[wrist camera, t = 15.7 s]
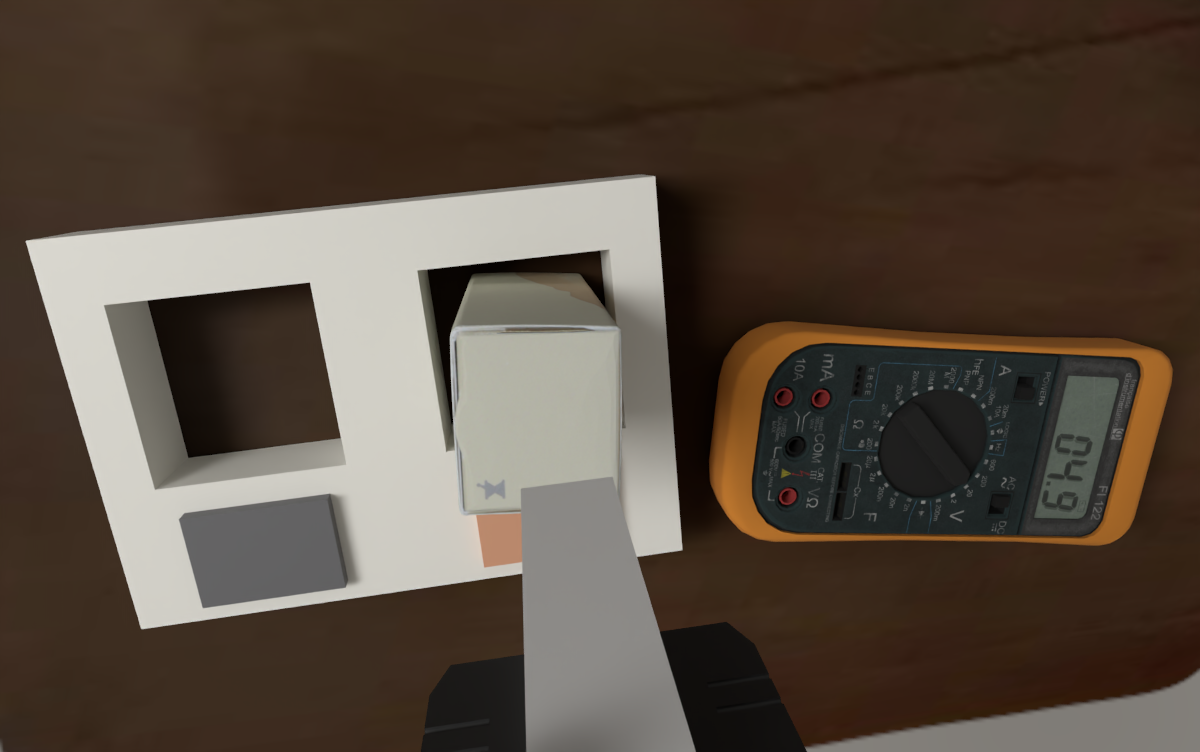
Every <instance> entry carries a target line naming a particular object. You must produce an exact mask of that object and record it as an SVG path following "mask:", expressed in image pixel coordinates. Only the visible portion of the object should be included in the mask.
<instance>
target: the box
mask: <svg viewBox="0 0 1200 752" xmlns="http://www.w3.org/2000/svg"><path fill="white" fill-rule="evenodd" d="M450 360H451V388H452V408H453V428H454V445H455V459H456V473H457V486H458V505H459V511H460V512H461V514H462V515H466V516H468V515H489V514H519V513H521V488H529V487H537V486H544V485H552V484H560V483H567V482H575V481H582V480H590V479H598V478H605V477H613V481H614V484H615V487H616V490H617V494H618V497H619V498H620V480H621V457H622V333H621V329H620V327H619V326H618V325H617V324H616V322H615V321H614V320H613V319H612V317H611V316H610V314H609V313H608V311H607V310H606V309H605V307H604V306H603V305H602V303H601V302H600V301H599V299H598V298H597V296H596V295H595V294H594V292H593V291H592V289H591V288H590V287H589V286H588V284H587V283H586V282H585V280H584V279H583V277H582V276H581V275H580V274H577V273H539V272H510V273H476V274H473V275H472V276H471V279H470V281H469V284H468V287H467V289H466V291H465V294H464V297H463V300H462V303H461V305H460V308H459V311H458V313H457V316H456V319H455V322H454V324H453V327H452V330H451V334H450Z"/></svg>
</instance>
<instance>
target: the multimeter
mask: <svg viewBox="0 0 1200 752" xmlns="http://www.w3.org/2000/svg"><path fill="white" fill-rule="evenodd" d="M1172 375H1173V368H1172V365H1171V362H1170V359H1169V358H1168V357H1167V356H1166V355H1165V354H1164V353H1163V352H1162V351H1160V350H1157V349H1153V348H1150V347H1147V346H1143V345H1140V344H1136V343H1133V342H1130V341H1126V340H1123V339H1119V338H1072V337H1018V336H997V335H977V334H956V333H935V332H916V331H903V330H891V329H878V328H866V327H854V326H841V325H829V324H816V323H804V322H792V321H784V322H774V323H766V324H764V325H762V326H759V327H757V328H755V329H753V330H750V331H749V332H747V333H746V334H745V335H744V336H743V337H742V338H740V339H739V340H738V341H737V342H736V343H734V345H733V346H732V348H731V350H730V351H729V353H728V354H727V356H726V357H725V359H724V361H723V365H722V368H721V372H720V375H719V380H718V389H717V397H716V406H715V414H714V423H713V431H712V440H711V448H710V456H709V472H710V483H711V486H712V488H713V491H714V493H715V496H716V498H717V500H718V502H719V503H720V505H721V507H722V508H723V510H724V511H725V513H726V515H727V516H728V518H729V519H730V520H731V521H732V522H733V523H734V524H735V525H736V526H737V527H738V529H739V530H740V531H742V532H744V533H746V534H748V535H750V536H752V537H754V538H755V539H760V540H766V541H772V542H809V541H879V540H924V541H1000V542H1031V543H1050V544H1070V545H1089V546H1100V545H1105V544H1110V543H1112V542H1113V541H1115V540H1117V539H1119V538H1121V537H1122V536H1123V535H1124V534H1125V533H1126V531H1127V530H1128V529H1129V528H1130V526H1131V524H1132V522H1133V520H1134V517H1135V514H1136V510H1137V507H1138V503H1139V499H1140V496H1141V492H1142V488H1143V485H1144V481H1145V478H1146V474H1147V470H1148V467H1149V463H1150V460H1151V456H1152V452H1153V449H1154V445H1155V441H1156V438H1157V434H1158V431H1159V427H1160V423H1161V420H1162V416H1163V412H1164V409H1165V405H1166V402H1167V398H1168V394H1169V391H1170V387H1171V383H1172Z"/></svg>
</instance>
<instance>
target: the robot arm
mask: <svg viewBox="0 0 1200 752" xmlns="http://www.w3.org/2000/svg"><path fill="white" fill-rule="evenodd" d="M521 527H522V573H523V620H524V655H518V656H511V657H504V658H497V659H490V660H484V661H477V662H470V663H463V664H456V665H451V666H450V667H449V668H448V670H447V671H446V673H445V674H444V676H443V677H442V678H441V680H440V681H439V683H438V684H437V686H436V687H435V689H434V690H433V691H432V693H431V694H430V696H429V703H428V709H427V716H426V722H425V735H423V742H422V748H421V752H807V751H806V749H805V747H804V745H803V743H802V741H801V739H800V737H799V735H798V733H797V731H796V729H795V726H794V724H793V722H792V720H791V718H790V716H789V714H788V712H787V710H786V708H785V706H784V704H782V703H781V699H780V696H779V694H778V692H777V690H776V688H775V686H774V683H773V681H772V679H769V674H768V671H767V669H766V667H765V665H764V663H763V661H762V659H761V657H760V655H759V653H758V651H757V649H756V647H755V645H754V643H752V642H751V641H750V640H748V639H747V638H746V637H745V636H743V635H742V634H741V633H740V632H738V631H737V630H736V629H735V628H733V627H732V626H731V625H730V624H728V623H727V622H723V623H717V624H710V625H703V626H696V627H689V628H682V629H676V630H669V631H662V632H659V629H658V625H657V622H656V619H655V616H654V612H653V609H652V606H651V602H650V599H649V596H648V592H647V589H646V586H645V583H644V579H643V576H642V573H641V569H640V566H639V563H638V560H637V556H636V553H635V550H634V546H633V543H632V540H631V537H630V533H629V530H628V527H627V523H626V520H625V517H624V513H623V510H622V507H621V504H620V500H619V497H618V494H617V490H616V487H615V484H614V481H613V477H605V478H598V479H590V480H582V481H575V482H567V483H560V484H552V485H544V486H537V487H529V488H521Z"/></svg>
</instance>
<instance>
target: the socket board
mask: <svg viewBox="0 0 1200 752" xmlns="http://www.w3.org/2000/svg"><path fill="white" fill-rule="evenodd" d="M26 244H27V247H28V250H29V254H30V257H31V261H32V264H33V267H34V271H35V274H36V277H37V281H38V284H39V287H40V291H41V294H42V297H43V301H44V304H45V307H46V311H47V314H48V318H49V321H50V324H51V328H52V331H53V334H54V338H55V341H56V344H57V348H58V351H59V354H60V358H61V361H62V365H63V368H64V371H65V375H66V378H67V381H68V385H69V388H70V391H71V395H72V398H73V401H74V405H75V408H76V411H77V415H78V418H79V422H80V425H81V428H82V432H83V435H84V438H85V442H86V445H87V448H88V452H89V455H90V458H91V462H92V465H93V468H94V472H95V475H96V479H97V482H98V485H99V489H100V492H101V495H102V499H103V502H104V505H105V509H106V512H107V515H108V519H109V522H110V525H111V529H112V532H113V536H114V539H115V542H116V546H117V549H118V552H119V556H120V559H121V562H122V566H123V569H124V572H125V576H126V579H127V583H128V586H129V589H130V593H131V596H132V599H133V603H134V606H135V609H136V613H137V616H138V619H139V623H140V626H141V629H146V628H153V627H160V626H167V625H173V624H180V623H187V622H194V621H201V620H208V619H214V618H221V617H228V616H235V615H242V614H249V613H255V612H262V611H269V610H276V609H283V608H290V607H296V606H303V605H310V604H317V603H324V602H331V601H338V600H344V599H351V598H358V597H365V596H372V595H379V594H385V593H392V592H399V591H406V590H413V589H420V588H426V587H433V586H440V585H447V584H454V583H461V582H467V581H474V580H481V579H488V578H495V577H502V576H509V575H515V574H522V527H521V513H519V514H489V515H468V516H466V515H462V514H461V512H460V511H459V505H458V486H457V473H456V459H455V445H454V428H453V424H451V418H450V411H449V405H448V399H447V392H446V386H445V380H444V373H443V367H442V360H441V354H440V348H439V341H438V335H437V329H436V322H435V316H434V309H433V303H432V297H431V290H430V284H429V278H428V271H427V269H436V268H445V267H454V266H463V265H472V264H481V263H490V262H499V261H508V260H517V259H526V258H535V257H545V256H554V255H563V254H572V253H581V252H590V251H599V250H600V253H601V264H602V274H603V285H604V296H605V306H606V310H607V311H608V313H609V314H610V316H611V317H612V319H613V320H614V321H615V322H616V324H617V325H618V326H619V327H620V329H621V333H622V457H621V480H620V498H619V500H620V504H621V507H622V510H623V513H624V517H625V520H626V523H627V527H628V530H629V533H630V537H631V540H632V543H633V546H634V550H635V553H636V556H637V557H638V556H645V555H652V554H659V553H666V552H673V551H680V550H682V538H681V524H680V511H679V497H678V483H677V469H676V455H675V442H674V428H673V414H672V400H671V387H670V373H669V359H668V345H667V332H666V318H665V304H664V290H663V277H662V263H661V249H660V235H659V221H658V208H657V194H656V180H655V176H649V175H641V174H639V175H629V176H620V177H610V178H600V179H590V180H580V181H571V182H561V183H551V184H541V185H532V186H522V187H512V188H502V189H492V190H483V191H473V192H463V193H453V194H444V195H434V196H424V197H414V198H404V199H395V200H385V201H375V202H365V203H356V204H346V205H336V206H326V207H316V208H307V209H297V210H287V211H277V212H268V213H258V214H248V215H238V216H228V217H219V218H209V219H199V220H189V221H180V222H170V223H160V224H150V225H140V226H131V227H121V228H111V229H101V230H92V231H82V232H74V233H68V234H62V235H57V236H51V237H45V238H40V239H34V240H28V241H26ZM309 282H310V285H311V290H312V295H313V300H314V305H315V310H316V315H317V320H318V325H319V330H320V335H321V340H322V345H323V350H324V355H325V360H326V365H327V370H328V375H329V380H330V385H331V390H332V395H333V400H334V405H335V410H336V415H337V420H338V425H339V430H340V435H341V438H340V439H332V440H324V441H316V442H309V443H301V444H293V445H285V446H277V447H270V448H262V449H254V450H246V451H238V452H231V453H223V454H215V455H207V456H199V457H192V458H188V455H187V451H186V447H185V443H184V440H183V436H182V432H181V428H180V424H179V420H178V417H177V413H176V409H175V405H174V401H173V397H172V393H171V390H170V386H169V382H168V378H167V374H166V370H165V367H164V363H163V359H162V355H161V351H160V347H159V344H158V340H157V336H156V332H155V328H154V324H153V321H152V317H151V313H150V309H149V305H148V301H147V300H155V299H164V298H173V297H183V296H192V295H201V294H210V293H219V292H228V291H237V290H246V289H255V288H264V287H273V286H282V285H291V284H300V283H309Z"/></svg>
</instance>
